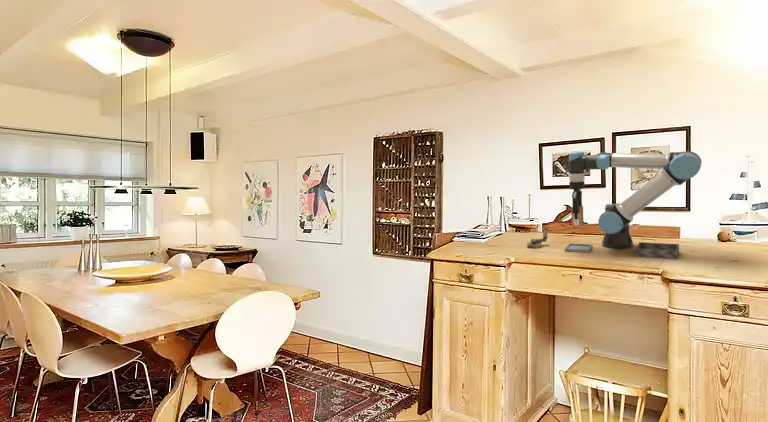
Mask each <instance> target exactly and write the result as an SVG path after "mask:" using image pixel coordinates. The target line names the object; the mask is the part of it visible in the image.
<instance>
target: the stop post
mask: <svg viewBox="0 0 768 422" xmlns="http://www.w3.org/2000/svg"><path fill="white" fill-rule="evenodd" d="M570 208H571V210H570V211H571V212H570V213H571V227H582V226H583V225H584V205H582V206H579V225H574V213H572V212H573V206H572V207H570Z"/></svg>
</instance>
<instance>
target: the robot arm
mask: <svg viewBox="0 0 768 422" xmlns="http://www.w3.org/2000/svg"><path fill="white" fill-rule="evenodd" d="M701 167H702V158H701V156H699V155H698V154H697V153H696V152H694V151H690V150H688V151H677V152H676V151H674V152H671V151H670V152H668V153H631V152H630V153H626V152H619V153H618V152H602V151H601V152H599V153H596V154H588V155H587V154H585V152H584V151H573V152H572V151H571V152H569V154H568V172H569V173H568V175H567V177H569V189H570V190H573V192H572V195H571V197H572V198H571V199H572V201H571V202H572V207H573V212H572V213H574V225H579V206H583V191H582V189H584V188H585V186H586V185H585V180H586V179H585V176H586V175H585V171H586V170H600V171H601V170H608V169H609V168H622V169H625V168H626V169H649V170H661V172H660V173H658V174H656V176H654V177H653V178H651V179H650V180H649V181H648V182H647V183H645V184H644V185H642V186H641V187H640V188H639V189H638V190H636V191H635V192H634V193H632V194H631V195H630V196H628V197H627V198H626V199H624V200H623V201H622V202H616V203H607V204H605V206H604V212H603V213H602V214H600V216H599V218H598V227H599V228H600V230H601V231H603V233H604V236H603V237H602V238H603V239H602V241H601V243H602V244H601V246H602V247H603V248H607V249H613V250H614V249H615V250H623V249H630V248H633V247H634V241H633V238H632V236H631V233H630V223H631V222H632V221H633V220H634V216H635V215H637V214H638V213H640V212H642V211H643V210H644V209H645V208H646V207H648V206H649V205H651V204H652V203H653V202H654V201H656V200H657V199H658V198H660V197H661V196H662V195H664V194H665V193H666V192H668V191H669V190H671V189H672V188H673V187H674V186H681V185H683V184H684V183H685V182H687V181H688V180H690V179H692V178H694V177H695V176H697V174H698V173H699V172H700V170H701ZM572 213H571V214H572Z"/></svg>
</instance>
